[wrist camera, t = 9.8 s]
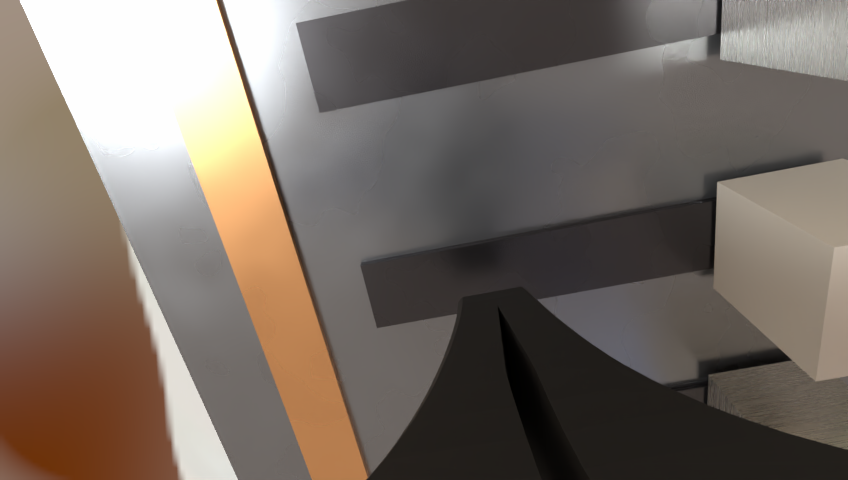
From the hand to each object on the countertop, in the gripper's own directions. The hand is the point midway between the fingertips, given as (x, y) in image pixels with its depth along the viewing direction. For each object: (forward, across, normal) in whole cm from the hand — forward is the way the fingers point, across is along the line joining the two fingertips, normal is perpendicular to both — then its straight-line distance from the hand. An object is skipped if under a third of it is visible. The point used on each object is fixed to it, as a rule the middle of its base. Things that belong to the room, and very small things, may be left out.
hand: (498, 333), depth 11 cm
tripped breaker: (+2, -7, 0) cm, 7 cm away
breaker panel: (+4, -3, 0) cm, 5 cm away
